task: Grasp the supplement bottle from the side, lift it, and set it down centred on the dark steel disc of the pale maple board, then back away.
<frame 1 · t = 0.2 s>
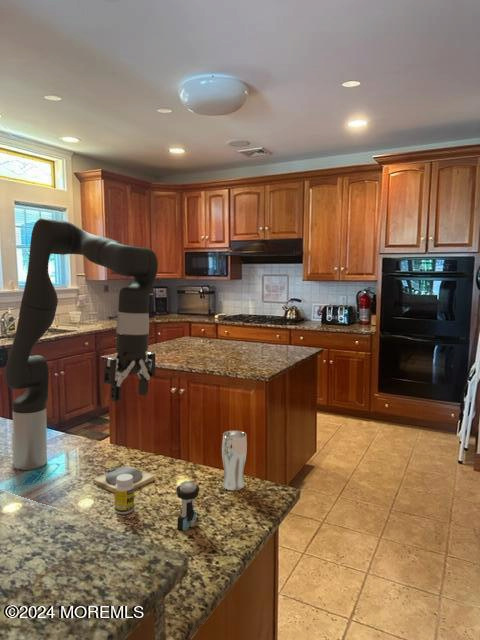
hand: (129, 397, 106), 29 cm above the counter, tool pointing down, fingers open, 8 cm apart
supplement bottle: (124, 510, 110), on the counter
push button: (188, 524, 104), on the counter
beer glass: (233, 486, 124), on the counter
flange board: (124, 481, 125), on the counter
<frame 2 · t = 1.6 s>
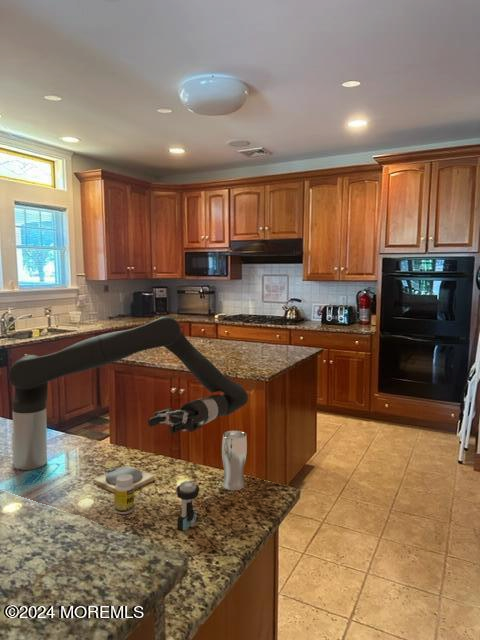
hand: (159, 426, 118), 18 cm above the counter, tool horizontal, fingers open, 8 cm apart
nothing on the counter moved.
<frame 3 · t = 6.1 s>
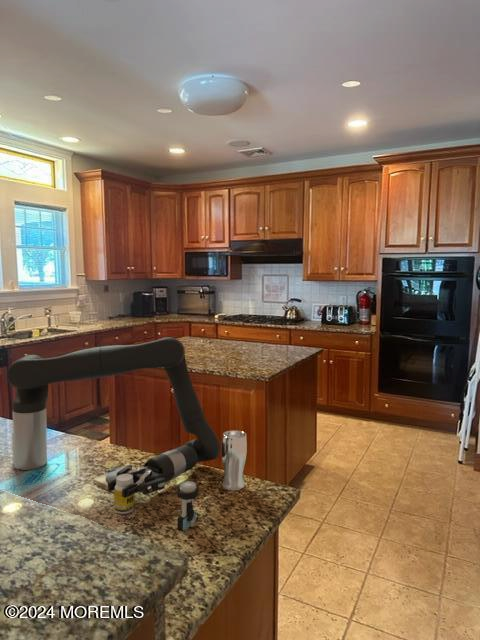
hand: (116, 490, 107), 6 cm above the counter, tool horizontal, fingers closed on supplement bottle, 4 cm apart
supplement bottle: (124, 510, 110), on the counter, touching gripper
everything else where it was.
when the fingers open (9 cm above the counter, at t = 10.6 s): supplement bottle drops 1 cm, resting on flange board.
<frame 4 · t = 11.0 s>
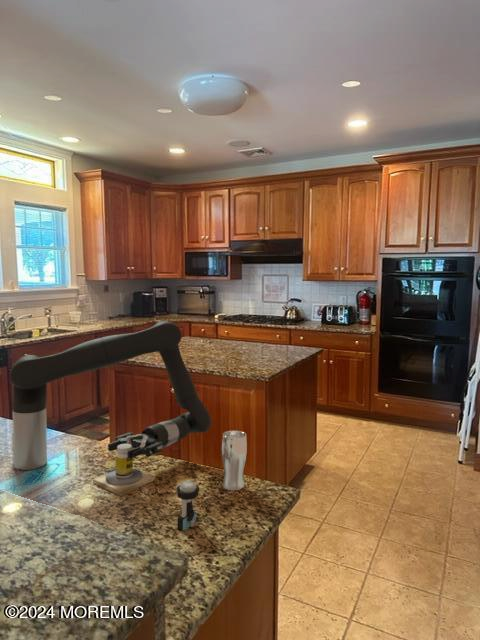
hand: (118, 451, 122), 9 cm above the counter, tool horizontal, fingers open, 8 cm apart
supplement bottle: (124, 475, 125), point 2 cm above the counter, touching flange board
everything else where it was.
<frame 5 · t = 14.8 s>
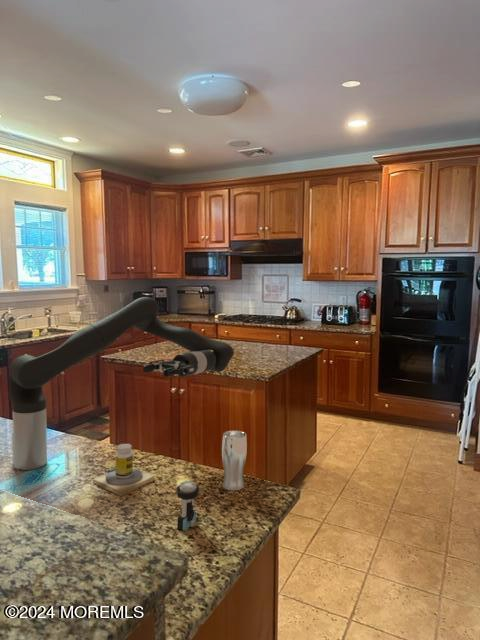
hand: (153, 371, 131), 30 cm above the counter, tool horizontal, fingers open, 8 cm apart
nothing on the counter moved.
at the end: supplement bottle inside the target area on the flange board (0.1 cm from its centre), point 1.6 cm above the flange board's base; supplement bottle tilted 0°; the gripper is holding nothing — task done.
